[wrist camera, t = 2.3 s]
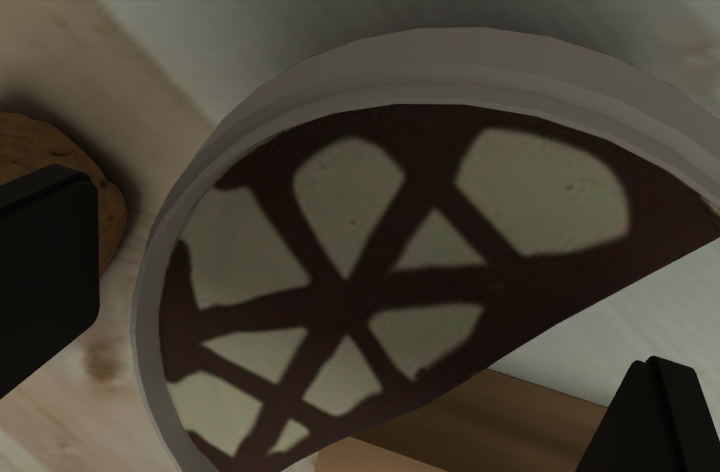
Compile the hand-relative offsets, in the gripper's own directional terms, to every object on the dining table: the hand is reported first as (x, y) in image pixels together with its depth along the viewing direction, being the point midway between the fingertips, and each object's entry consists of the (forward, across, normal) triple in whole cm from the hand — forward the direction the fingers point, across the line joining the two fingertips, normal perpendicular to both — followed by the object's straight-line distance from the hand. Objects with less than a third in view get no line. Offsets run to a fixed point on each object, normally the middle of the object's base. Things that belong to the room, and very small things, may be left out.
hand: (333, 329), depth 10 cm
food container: (+10, +1, -1) cm, 10 cm away
